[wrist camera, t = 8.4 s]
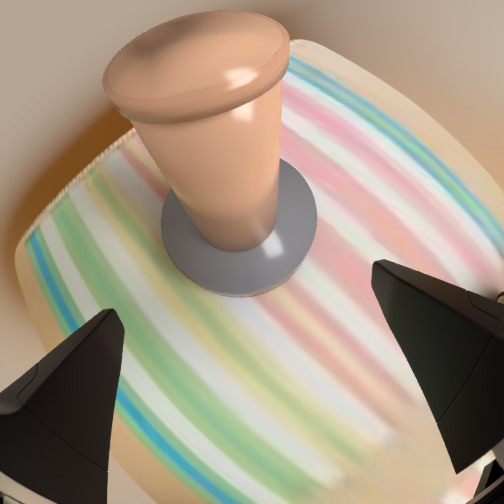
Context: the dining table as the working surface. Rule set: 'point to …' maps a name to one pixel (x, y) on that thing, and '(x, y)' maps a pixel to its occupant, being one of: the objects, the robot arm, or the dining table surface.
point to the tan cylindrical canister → (210, 116)
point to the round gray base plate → (252, 261)
